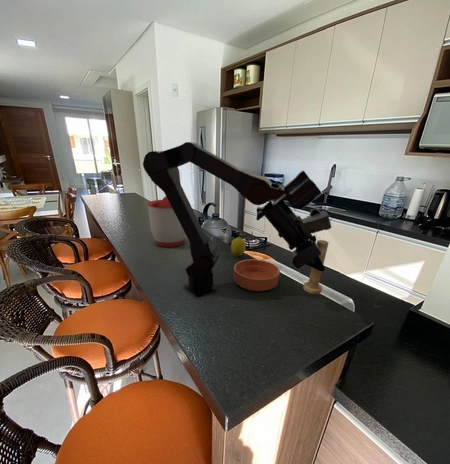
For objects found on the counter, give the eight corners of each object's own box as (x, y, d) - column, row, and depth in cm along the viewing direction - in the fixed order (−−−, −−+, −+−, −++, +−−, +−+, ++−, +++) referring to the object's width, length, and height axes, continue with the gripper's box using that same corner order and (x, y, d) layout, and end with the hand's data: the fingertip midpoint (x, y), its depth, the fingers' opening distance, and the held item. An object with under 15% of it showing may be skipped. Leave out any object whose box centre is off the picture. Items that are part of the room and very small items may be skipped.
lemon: (234, 260, 93) (236, 240, 90) (228, 255, 97) (228, 235, 94) (247, 258, 95) (249, 238, 92) (240, 253, 100) (241, 234, 96)
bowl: (255, 298, 70) (256, 284, 68) (224, 278, 80) (224, 266, 78) (287, 284, 78) (289, 271, 76) (255, 267, 88) (256, 256, 86)
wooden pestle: (314, 296, 63) (326, 246, 57) (299, 288, 67) (308, 240, 61) (325, 290, 66) (337, 242, 60) (309, 283, 69) (319, 237, 63)
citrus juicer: (197, 240, 111) (197, 194, 102) (170, 252, 98) (167, 201, 89) (172, 233, 118) (169, 190, 109) (143, 243, 105) (137, 195, 96)
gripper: (319, 208, 48) (363, 266, 52) (310, 193, 65) (344, 237, 68) (273, 242, 53) (316, 292, 56) (275, 219, 70) (309, 260, 73)
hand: (322, 267), depth 63 cm, fingers closed on wooden pestle, 2 cm apart
